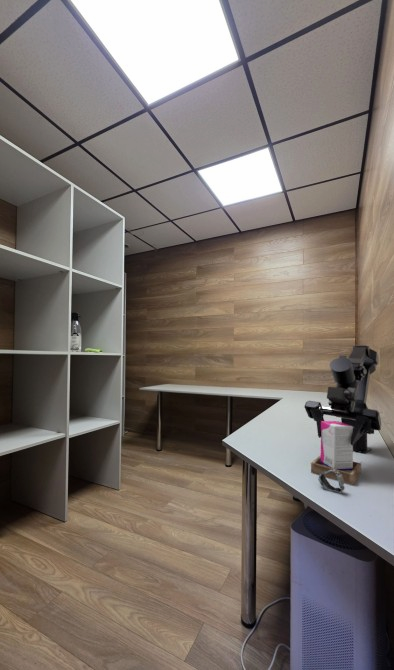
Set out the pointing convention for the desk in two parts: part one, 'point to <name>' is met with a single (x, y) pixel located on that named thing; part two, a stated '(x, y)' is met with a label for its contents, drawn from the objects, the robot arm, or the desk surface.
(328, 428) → the supplement box
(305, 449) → the desk surface
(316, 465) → the square wooden tray
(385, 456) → the desk surface
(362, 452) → the robot arm
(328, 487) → the wristwatch
